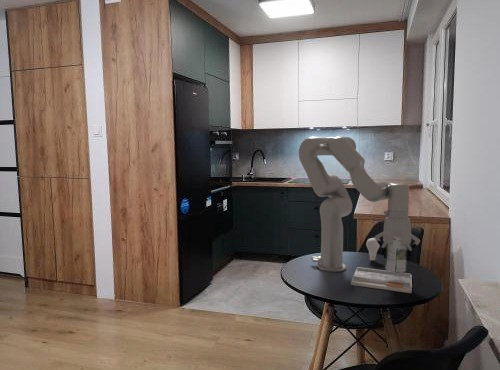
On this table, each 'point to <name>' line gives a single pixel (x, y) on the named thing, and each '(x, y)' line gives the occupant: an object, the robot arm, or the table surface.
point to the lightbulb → (372, 248)
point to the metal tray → (382, 276)
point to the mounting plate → (383, 285)
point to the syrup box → (396, 256)
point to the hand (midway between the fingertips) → (396, 258)
